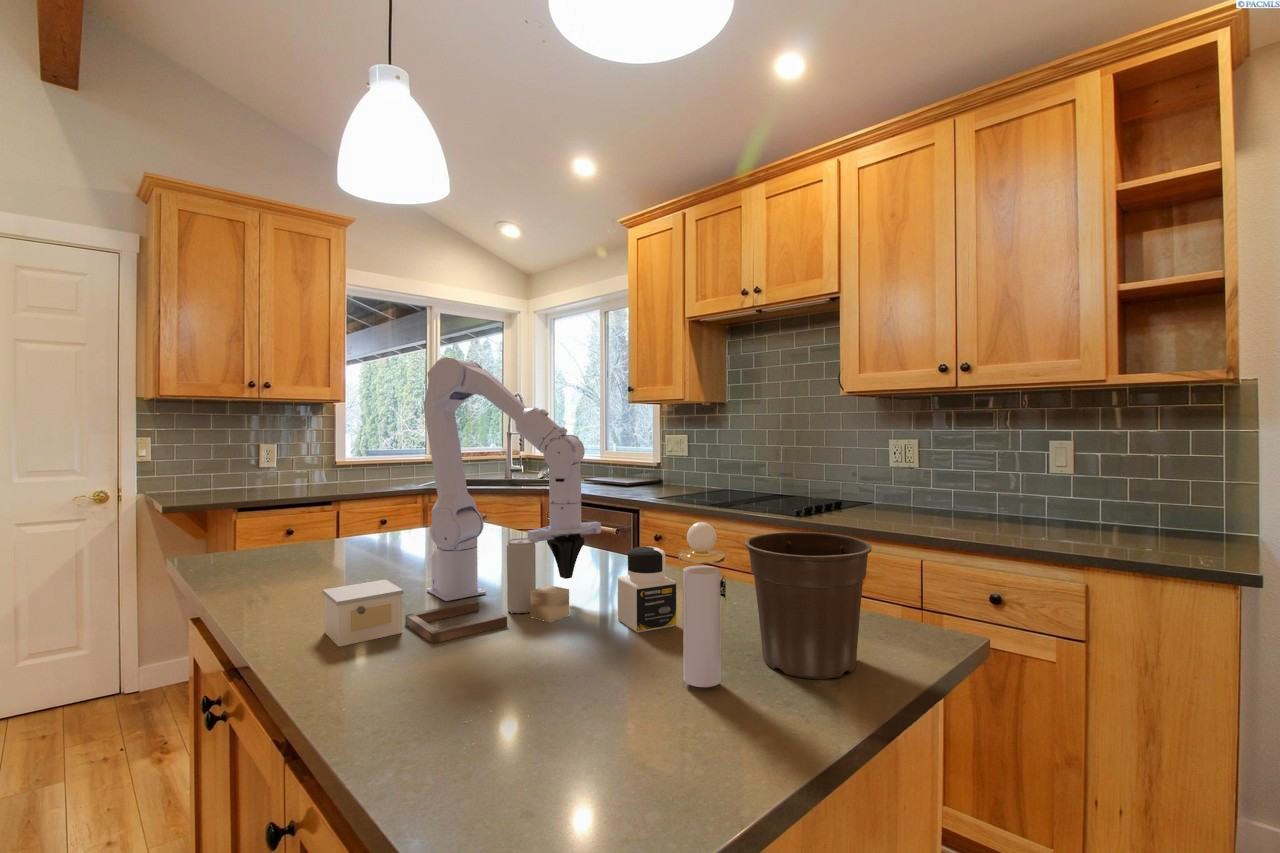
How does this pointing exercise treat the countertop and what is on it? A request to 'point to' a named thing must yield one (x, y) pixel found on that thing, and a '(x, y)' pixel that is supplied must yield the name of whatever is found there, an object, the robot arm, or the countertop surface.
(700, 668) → the perfume bottle
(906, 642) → the countertop surface
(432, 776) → the countertop surface
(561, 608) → the beech block
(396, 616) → the control box
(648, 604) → the medicine bottle
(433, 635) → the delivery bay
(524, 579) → the beverage can
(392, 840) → the countertop surface
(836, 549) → the plant pot
